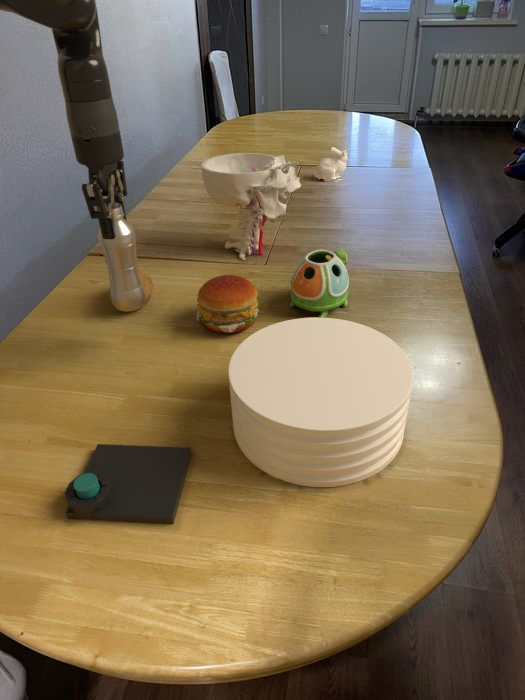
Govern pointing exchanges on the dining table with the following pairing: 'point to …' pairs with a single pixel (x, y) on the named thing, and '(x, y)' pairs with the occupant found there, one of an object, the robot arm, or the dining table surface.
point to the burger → (227, 304)
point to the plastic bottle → (123, 264)
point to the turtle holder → (320, 282)
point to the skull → (250, 192)
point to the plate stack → (319, 400)
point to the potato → (145, 284)
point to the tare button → (86, 486)
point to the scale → (133, 484)
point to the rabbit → (332, 166)
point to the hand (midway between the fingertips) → (115, 230)
